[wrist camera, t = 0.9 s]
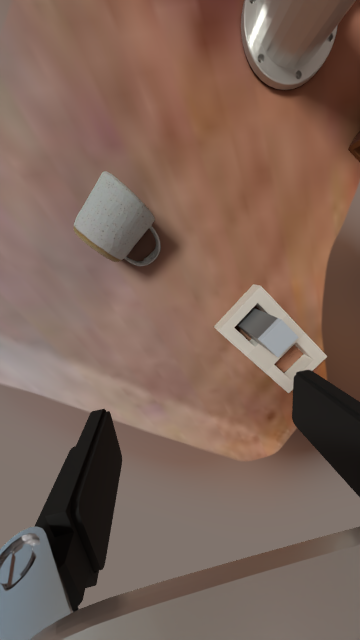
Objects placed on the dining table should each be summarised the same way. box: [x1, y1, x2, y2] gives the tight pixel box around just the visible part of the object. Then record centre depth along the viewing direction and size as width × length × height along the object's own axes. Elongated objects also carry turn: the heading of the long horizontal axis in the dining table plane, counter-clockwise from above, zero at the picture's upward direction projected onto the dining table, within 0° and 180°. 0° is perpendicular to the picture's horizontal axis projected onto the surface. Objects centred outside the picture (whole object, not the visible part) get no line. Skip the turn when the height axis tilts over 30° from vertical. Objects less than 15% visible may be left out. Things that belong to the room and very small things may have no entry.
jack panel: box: [214, 284, 327, 393], centre depth 36 cm, size 10×20×2 cm, turn 48°
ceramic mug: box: [74, 171, 161, 266], centre depth 26 cm, size 11×8×8 cm
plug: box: [237, 308, 299, 357], centre depth 31 cm, size 4×4×9 cm
